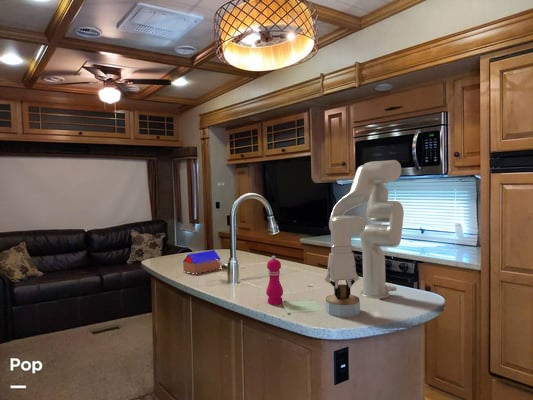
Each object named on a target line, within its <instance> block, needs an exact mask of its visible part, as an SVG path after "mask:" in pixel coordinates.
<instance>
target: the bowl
mask: <svg viewBox="0 0 533 400" xmlns="http://www.w3.org/2000/svg"><path fill="white" fill-rule="evenodd" d="M325 312H326V313H327V314H328V315H329V316H333V317H338V318H349V317H350V318H351V317H356V316H358V315H359V314H361V301H360V300H359V302H358V303H356V304H352V305H336V304H331V303H328V302H327V301H326V300H325Z"/></svg>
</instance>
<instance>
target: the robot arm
mask: <svg viewBox="0 0 533 400" xmlns="http://www.w3.org/2000/svg"><path fill="white" fill-rule="evenodd" d="M401 174H402V166H401V163H400V162H399V161H398V160H396V159H392V160H389V159H388V160H380V161H379V160H377V161H369V162H366V163H364V164H363V165H362V164H361V165H360V166H358V167H357V169H356V171H355V174H354V177H353V180H352V184H351V185H350V186H351V187H350V190H349V192H348V193H347V194H346V195H345V196H343V197H342V198H341V199H339V200H338V201H337V203H336V204H335V205H334V206H333V208H332V212H331V214H330V217H329V222H328V228H329V231H330V239H331V240H330V248H331V252H329V254H328V260H327V275H326V277H325V278H324V281H325V282H326V283H328V284H330V285H331V286H332V287H334V288H333V289H334V290H333V291H334V293H333V294H334V295H335V296H336V298H337V299H339V298H340V289H339V288H338V285H339V282H340V281H344V280H345V285H346V287H347V298H349V295H351V288H352V286H353V285H354V284H355V283H356V282H358V281H359V280H360V277H359V275H358V274H357V269H356V261H355V255H354V253H353V250H356V246H353V245H352V236H358V235H359V238H360V244H361V249H362V251H361V252H362V253H361V254H362V282H363V283H362V285H363V289H362V290H361V291H360V292H359V295H360V297H363V298H368V299H379V300H383V299H387V298H389V297H390V292H396V291H397V286H391V285H386V257H385V253H384V251H383V250H382V248H397V247H398V246H399V245H400V243H401V240H402V233H403V226H404V225H403V224H404V215H405V214H404V213H405V212H404V211H405V210H404V207H403V205H402V203H401V202H400V201H397V200H388V199H389V190H388V188H387V186H386V185H385V184H388V183H392V182H394V181H397V180H398V179H399V178H400V176H401ZM365 203H367V204H366V212H365V213H366V214H365V215H366V218H367V220H368V221H369V222H372V223H369V224H366V220H364V218H363V217H361V216H358V215H345V214H346V213H347V212H348V211H350V210H353V208H357V207H358V206H361V205H364V204H365ZM375 223H376V224H375ZM378 223H379V224H378ZM380 223H388V224H380ZM381 247H382V248H381Z"/></svg>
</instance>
